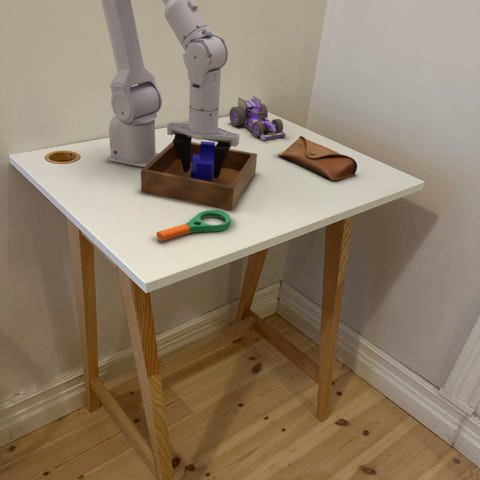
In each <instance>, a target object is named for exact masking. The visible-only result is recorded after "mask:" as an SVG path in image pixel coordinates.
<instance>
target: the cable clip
mask: <svg viewBox="0 0 480 480" xmlns="http://www.w3.org/2000/svg"><path fill="white" fill-rule="evenodd" d="M215 146H216V142H214V141H205V140H200V155H196V154H194V155H193V160H192V169H191V178H193V179H199V180H204V181H209V182H212V178H213V171H214V147H215Z"/></svg>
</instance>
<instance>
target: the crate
mask: <svg viewBox="0 0 480 480" xmlns="http://www.w3.org/2000/svg"><path fill="white" fill-rule="evenodd" d="M200 144H201V142H194V141H191V148H190V169H189V171H188V172H187V173H185V172H183V166H182V162H181V159H180V156H179V154H178V151H177V149H176V148H175V146H174V144H173V140H172V141H171V142H170V143H169V144H168V145H167V146H166V147H165V148H164V149H162V150H161V151H160V152H158V153H159V154H158V155H157V156H156V157H155V158H154V159H153V160H152V161H150V162H149V163H148V164H147V165H146V166H145V167H142V168H141V169H140V186H141V187H140V188H141V193H144V194H147V195H148V194H149V195H154V196H157V197H158V196H159V197H163V198H169V199H174V200H179V201H183V202H189V203H194V204H199V205H204V206H208V207H214V208H218V209H223V210H229V211H233V210H234V208H235V206H236V205H237V203H238V202H239V200H240V199H241V197H242V196H243V194H244V192H245V191H246V189H247V188H248V186H249V184H250V183H251V181H252V180H253V178H254V176H255V175H256V170H257V160H258V153H255V152H249V151H244V150H239V149H233V148H230V149H229V151H228V153H227V155H226V157H225V159H224V161H223V164H222V167H221V171H220V175H219V177H218V178H214V171H213V178H212V182H209V181H204V180H199V179H193V178H191V169H192V160H193V155H194V154H196V155H200ZM214 166H215V156H214Z"/></svg>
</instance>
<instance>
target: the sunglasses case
mask: <svg viewBox="0 0 480 480" xmlns="http://www.w3.org/2000/svg"><path fill="white" fill-rule="evenodd" d="M278 157H281V158H284V159H286V160H289V161H290V162H293V163H294V164H296V165H298V166H301V167H302V168H305V169H306V170H308V171H310V172H312V173H314V174H317V175H318V176H321V177H323V178H326V179H329V180H331V181H342V180H346V179H349V178H352V177H354V176H355V175H356V172H357V170H358V163H357V161H356V159H354V158H353V157H351V156H348V155H345V154H342V153H339V152H337V151H335V150H333V149H331V148H329V147H326V146H324V145H322V144H319V143H317V142H314V141H312V140H310V139H307V138H306V137H304V136H303V135H299V138H297V139H296V140H295V141H294V142H293V143H292V144H290V145H289V146H288V147H287V148H286V149H285V150H284V151H283V152H281V154H278Z"/></svg>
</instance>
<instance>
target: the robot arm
mask: <svg viewBox="0 0 480 480" xmlns="http://www.w3.org/2000/svg"><path fill="white" fill-rule="evenodd" d="M161 1H162V3H163V4H164V6H165V9H164V18H165V19H166V22H167V23H168V25H169V27H170V28H171V30H172V31H173V33H174V35H175V36H176V38H177V40H178V42H179V43H180V45H181V46H182V48H183V50H184V53H182V59H183V63H184V65H185V67H186V70H187V79H188V81H189V97H188V99H189V102H188V105H189V106H188V123H184V122H183V123H182V122H173V121H170V122H169V123H168V124H167V125H166V134H167V135H168V136H173V135H174V138H173V139H172V141H173V144H174V146H175V148H176V149H177V151H178V154H179V156H180V159H181V162H182V166H183V172H185V173H187V172H188V171H189V169H190V148H191V142H192V139H193V140H197V141H207V142H215V147H214V156H215V166H214V178H218V177H219V175H220V171H221V167H222V164H223V161H224V159H225V157H226V155H227V153H228V151H229V149H231V147H234V148H236V147H237V146H239V143H240V136H241V135H240V133H236V132H232V131H229V130H226V129H222V128H220V127H219V112H220V96H221V95H220V93H221V75H222V74H221V73H222V68H223V67H224V66H226V64H227V62H228V56H229V52H228V47H227V44H226V42H225V39H224V38H223V37H222V36H220V35H219V34H216V33H214V31H213V30H212V29H211V27H210V26H208V24H207V22H206V20H205V19H204V17H203V16H202V15H203V14H201V12H200V10H199V4H198V3H197V1H196V0H161ZM101 5H102V9H103V13H104V18H105V22H106V27H107V33H108V36H109V40H110V44H111V49H112V53H113V57H114V62H115V66H116V67H115V68H116V71H117V72H116V74H115V76H114V77H113V79H112V80H111V82H110V84H109V87H110V92H111V99H110V105H111V108H112V112H113V113H114V116H112V118H111V120H110V122H109V127H108V137H109V149H110V157H109V161H110V162H113V163H120V164H123V165H124V164H126V165H130V166H135V167H140V168H144V167H145V166H146V165H147V164H148V163H149V162H150V161H152V160H153V159H154V158H155V157H156V156H157V155H158V154H159V153H160V152H156V118H158V115H157V114H158V112H159V111H160V110H161V108H162V105H163V98H162V94H161V91H160V89H159V88H158V86H157V83H156V78H155V76H154V75H153V73H152V72H150V71H149V70H148V69H147V68H145V64H144V60H143V55H142V50H141V45H140V40H139V36H138V35H139V34H138V29H137V25H136V21H135V20H136V19H135V16H134V11H133V6H132V1H131V0H101Z"/></svg>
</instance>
